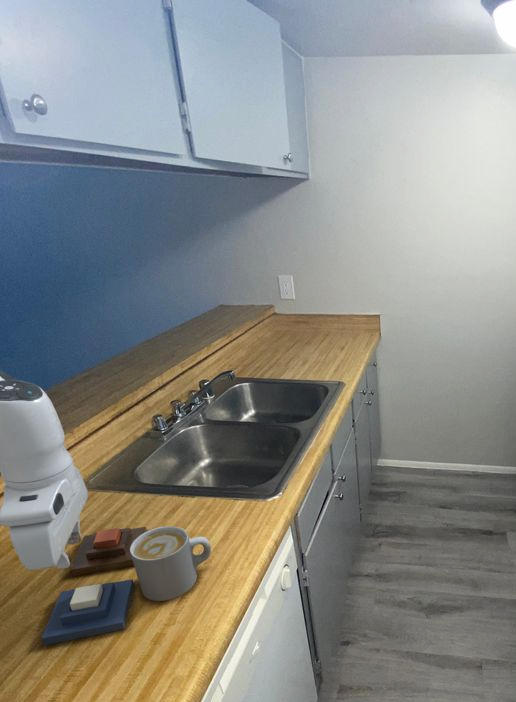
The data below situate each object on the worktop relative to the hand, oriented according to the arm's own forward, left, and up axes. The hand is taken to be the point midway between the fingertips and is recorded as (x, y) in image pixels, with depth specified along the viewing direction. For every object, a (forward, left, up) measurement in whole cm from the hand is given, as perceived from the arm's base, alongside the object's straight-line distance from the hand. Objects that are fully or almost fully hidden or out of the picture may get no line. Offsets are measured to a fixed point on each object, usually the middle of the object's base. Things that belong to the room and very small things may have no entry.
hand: (70, 553), depth 79 cm
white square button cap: (0, 0, -11) cm, 11 cm away
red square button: (0, +17, -11) cm, 20 cm away
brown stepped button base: (0, +17, -14) cm, 22 cm away
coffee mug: (+14, +5, -14) cm, 21 cm away
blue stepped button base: (0, 0, -14) cm, 14 cm away
